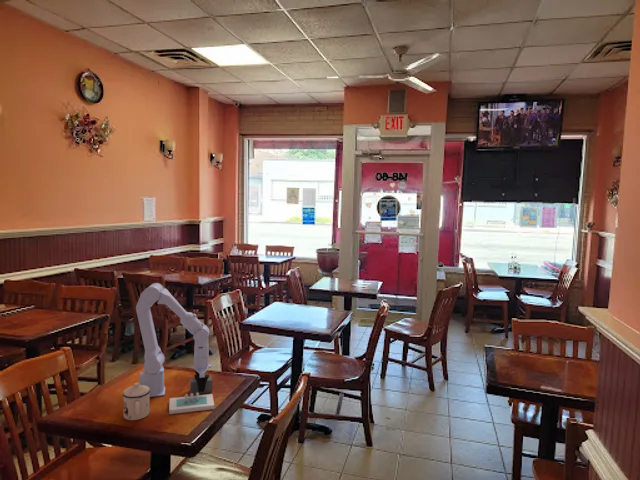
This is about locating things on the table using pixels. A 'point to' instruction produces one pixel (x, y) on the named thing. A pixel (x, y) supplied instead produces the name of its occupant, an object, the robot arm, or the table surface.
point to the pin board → (191, 403)
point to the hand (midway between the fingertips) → (201, 387)
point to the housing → (195, 387)
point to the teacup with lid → (136, 402)
